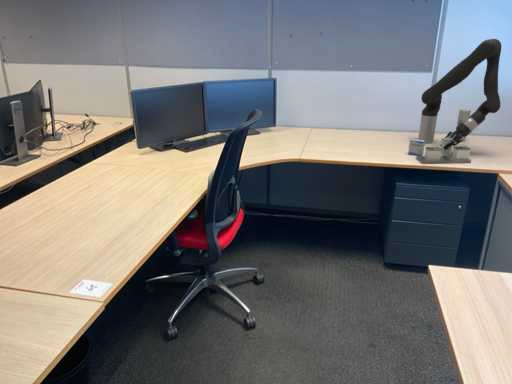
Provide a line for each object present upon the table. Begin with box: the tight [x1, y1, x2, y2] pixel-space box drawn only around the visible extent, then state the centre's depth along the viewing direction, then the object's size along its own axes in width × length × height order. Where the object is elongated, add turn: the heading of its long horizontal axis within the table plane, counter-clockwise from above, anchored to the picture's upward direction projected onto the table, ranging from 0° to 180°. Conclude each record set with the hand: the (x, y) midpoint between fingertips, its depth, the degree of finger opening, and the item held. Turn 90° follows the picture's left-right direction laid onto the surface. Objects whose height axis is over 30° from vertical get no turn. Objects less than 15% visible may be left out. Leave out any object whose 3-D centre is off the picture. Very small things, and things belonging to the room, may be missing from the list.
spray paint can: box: [456, 108, 472, 143], centre depth 273 cm, size 6×6×20 cm
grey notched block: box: [415, 146, 472, 165], centre depth 237 cm, size 9×27×8 cm, turn 92°
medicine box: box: [407, 138, 426, 157], centre depth 248 cm, size 8×4×9 cm, turn 62°
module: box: [440, 137, 453, 156], centre depth 248 cm, size 4×5×9 cm
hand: (442, 147), depth 248 cm, fingers closed on module, 4 cm apart
